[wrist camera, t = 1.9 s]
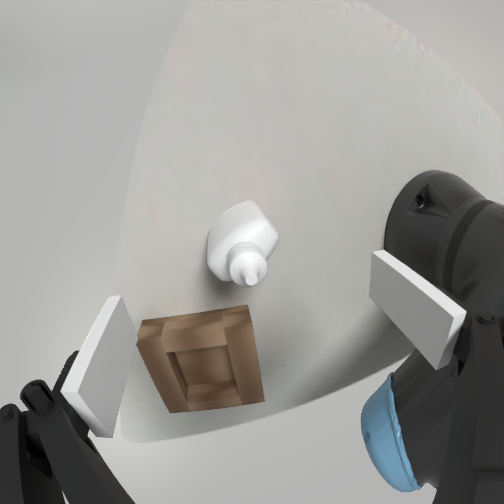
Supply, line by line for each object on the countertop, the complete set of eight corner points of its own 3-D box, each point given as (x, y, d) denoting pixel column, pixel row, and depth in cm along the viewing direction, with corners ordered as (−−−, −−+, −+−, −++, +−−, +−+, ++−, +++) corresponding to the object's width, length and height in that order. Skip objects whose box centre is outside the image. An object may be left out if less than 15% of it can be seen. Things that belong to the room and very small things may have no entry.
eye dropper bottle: (267, 240, 28) (302, 301, 17) (211, 251, 28) (212, 320, 17) (260, 197, 27) (294, 234, 16) (201, 208, 26) (194, 254, 15)
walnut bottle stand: (247, 304, 31) (252, 325, 27) (259, 379, 35) (264, 401, 31) (142, 320, 30) (135, 341, 26) (172, 390, 34) (169, 413, 30)
